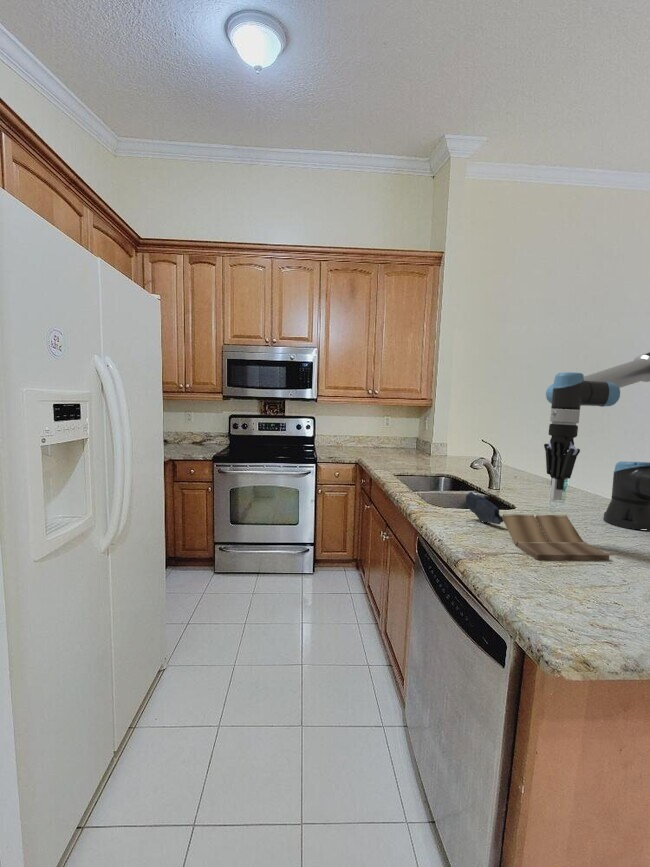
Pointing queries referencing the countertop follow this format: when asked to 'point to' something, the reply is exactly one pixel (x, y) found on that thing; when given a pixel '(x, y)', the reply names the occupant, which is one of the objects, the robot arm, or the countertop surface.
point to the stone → (483, 509)
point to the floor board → (562, 551)
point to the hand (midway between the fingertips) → (555, 499)
